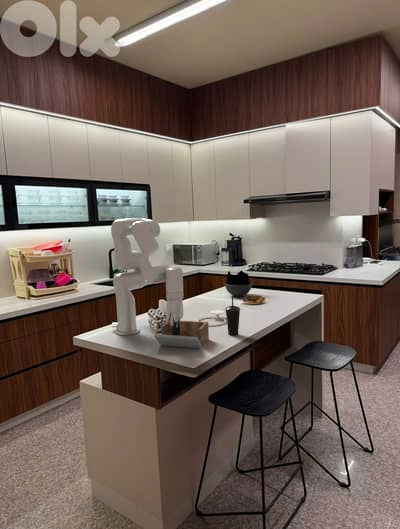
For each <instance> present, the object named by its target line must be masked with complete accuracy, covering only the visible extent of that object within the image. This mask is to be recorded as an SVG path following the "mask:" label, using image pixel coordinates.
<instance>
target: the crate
mask: <svg viewBox="0 0 400 529" xmlns="http://www.w3.org/2000/svg"><path fill="white" fill-rule="evenodd" d="M208 325H209V322H208V321H201V320H200V321H197V320H182V319H181V320H180V335H179V336H190V337H197V338H198V340H199V342H200V344H201V346H202V348H203V347H204V346H205V344H207V343H208V341H209V340H210V336H209V332H210V331H209V327H208ZM160 334H161V335H172V326H171V325H170V321H169V322H167V321H166V322H165V323H163V324H162V325H161V326H160Z"/></svg>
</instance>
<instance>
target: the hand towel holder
mask: <svg viewBox="0 0 400 529" xmlns="http://www.w3.org/2000/svg"><path fill="white" fill-rule="evenodd" d="M210 313H211V314H212V315H215V316H206V317H205V316H204V317H202V318H198V319H197V320H196V321H200V322H201V321H202V320H203V321H204V320H208V319H210V318H211V319H216V320H222V321H224V322H221V323H217V324H208V328H209V327H210V328H212V327H214V328H215V327H220V326H223V325H225V324H226V323H227V319H226V318H225V317H221V316H220V315H223V314H224V313H225V311H224V310H222V309H213V310H211V311H210Z"/></svg>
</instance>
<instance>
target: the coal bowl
mask: <svg viewBox="0 0 400 529" xmlns="http://www.w3.org/2000/svg"><path fill="white" fill-rule="evenodd" d="M224 287H225V290H226V291H227V292H228V294H230V295H231V296H233V297H236V298H238V297H239V298H241V297H245V296H246V295H247V294H249V293H250V291H251V289H252V287H253V282H252V281H250V279H249V274H248V273H247V272H245V271H244V270H239V271H238V272H237V273H236V274H235V275H233V274H232V273H231V271H227V274H226V282H224Z"/></svg>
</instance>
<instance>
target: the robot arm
mask: <svg viewBox="0 0 400 529" xmlns="http://www.w3.org/2000/svg"><path fill="white" fill-rule="evenodd" d="M110 233H111V238H112V241H113V245H114V262H115V263H114V264H115V267H116V269H117V270H119V271H125V272H121V273H117V274H116V275H115V276H113V279H112V283H113V287H114V293H115V302H116V314H117V315H116V316H117V322H112V323H111V328H113V329H114V328H115V331H114V332H115V334H116V335H120V336H129V335H134V334H137V333H138V332H140V327H138V326H137V314H136V298H135V297H134V295H133V293H132V291H133V290H137V289H141V288H143V287H145V286H146V282H148V283H149V284H153V285H155V284H161V283H165V294H166V295H165V296H166V298H165V299H166V307H165V308H166V310H165V314H166V315H165V318H166V320H165V321H166V322H169V321H170V325H171V326H172V335H175V336H179V335H180V320H182V319H183V317H184V303H183V299H184V276H183V275H184V272H183V268H182V267H180V266H173V265H171V264H164V265H163V264H162V265H154V266H153V265H152V264H151V261H150V260H149V257H150V256H151V255H154V253H156V252H157V251H158V250H159V243H158V241H157V240H156V238H158V237H159V236H160V235H161V226H160V224H159V223H158V222H157V221H155V220H154V219H149V218H148V219H147V218H142V217H141V218H140V217H138V218H119V219H116V220H114V221H113V222H112V223H111V228H110ZM128 236H132V237H133V238H134V240H135V242H136V244H137V246H138V248H139V250H132V243H131V240H130V239H129V238H128ZM128 270H129V271H128ZM130 270H133V271H130Z"/></svg>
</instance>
